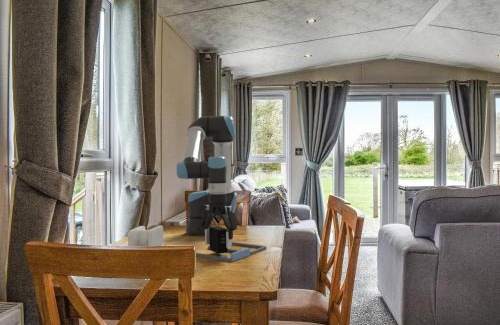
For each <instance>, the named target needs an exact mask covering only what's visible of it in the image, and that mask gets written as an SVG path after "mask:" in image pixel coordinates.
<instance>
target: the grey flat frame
mask: <svg viewBox="0 0 500 325" xmlns="http://www.w3.org/2000/svg"><path fill="white" fill-rule="evenodd" d="M232 246H238V247H239V246H240V247H246V248H240V249H233V248H228V252H227V253H230V257H228V255H227V254H220V255H212V254H206V253H200V252H195V253H196V256H195V257H197V258H203V259H211V260H215V261H222V262H223V261H224V262H229V263H230V262H235V261H237V260H240V259H241V260H242V259H244V258H247V257H249V256H252V255H255V254H256V253H260V252H263V251H266V250H267V246H266V245H260V244H253V243H244V242H239V241H238V242H237V241H232ZM251 248H255V249H254V250H253V249H252V250H251ZM207 250H210V245H207Z"/></svg>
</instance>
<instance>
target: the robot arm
mask: <svg viewBox="0 0 500 325" xmlns="http://www.w3.org/2000/svg"><path fill="white" fill-rule="evenodd" d="M236 136H237V135H236V128H235V122H234V117H232V116H230V115H209V116H207V115H204V116H200V117H198V118H196V119H195V120H193V121H192V122H191V123H190V125H189V126H188V128H187V130H186V138H187V141H186V145H185V149H184V150H185V151H184V156H183V159H182V160H183V161H180V162H177V164H176V176H177V178H178V179H180V180H181V179H183V180H190V179H191V180H194V179H195V180H197V179H208V189H207V190H200V191H195V192H191V193H189V194H188V198H187V199H188V200H187V203H188V222H187V224H186V228H185V234H186V236H187V235H188V236H197V237H198V236H204V246H205V245H206V246H209V245H210V242H209V227H213V224H212V222H213V220H214V218H215V216H217V217H220V218H221V220H222V221H223V224H224V226H225V228H226V229H227V232H226V248H228V249H230V248H231V247H232V246H233V245H232V242H233V239H234V231H236V230H237V229H238V226H237V222H236V220H235V216H234V213H235V212H236V206H237V198H238V197H237V196H238V194H237V193H238V192H235V189H234V187H232V165H231V164H232V162H231V161H232V157H231V156H232V155H231V154H232V153H231V151H232V150H231V146H232V145H231V144H233V142H234V139H236V138H237V137H236ZM205 139H211V142H212V144H213V145H214V156H209V157H208V161H201V155H202V148H203V142H204V140H205Z"/></svg>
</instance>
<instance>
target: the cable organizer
mask: <svg viewBox="0 0 500 325" xmlns="http://www.w3.org/2000/svg"><path fill="white" fill-rule="evenodd" d="M126 235H127V247H128V246H162V245H163V246H164V226H163V225H156V226H154V227H153V228H150V229H146V227H145V225H139V226H137V227H135V228H133V229H130V230H129V231H128V233H127V234H126Z"/></svg>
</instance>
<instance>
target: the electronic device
mask: <svg viewBox="0 0 500 325" xmlns="http://www.w3.org/2000/svg"><path fill="white" fill-rule="evenodd" d="M227 231H228V230H227V228H226V227H222V226H219V225H214V226H213V225H212V227H209V242H210V244H209V246H210V249H209V251H211V252H213V253H214V254H217V255H219V254H220V255H223V254H227V253H229V252H228V249H229V248H226V232H227Z"/></svg>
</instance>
